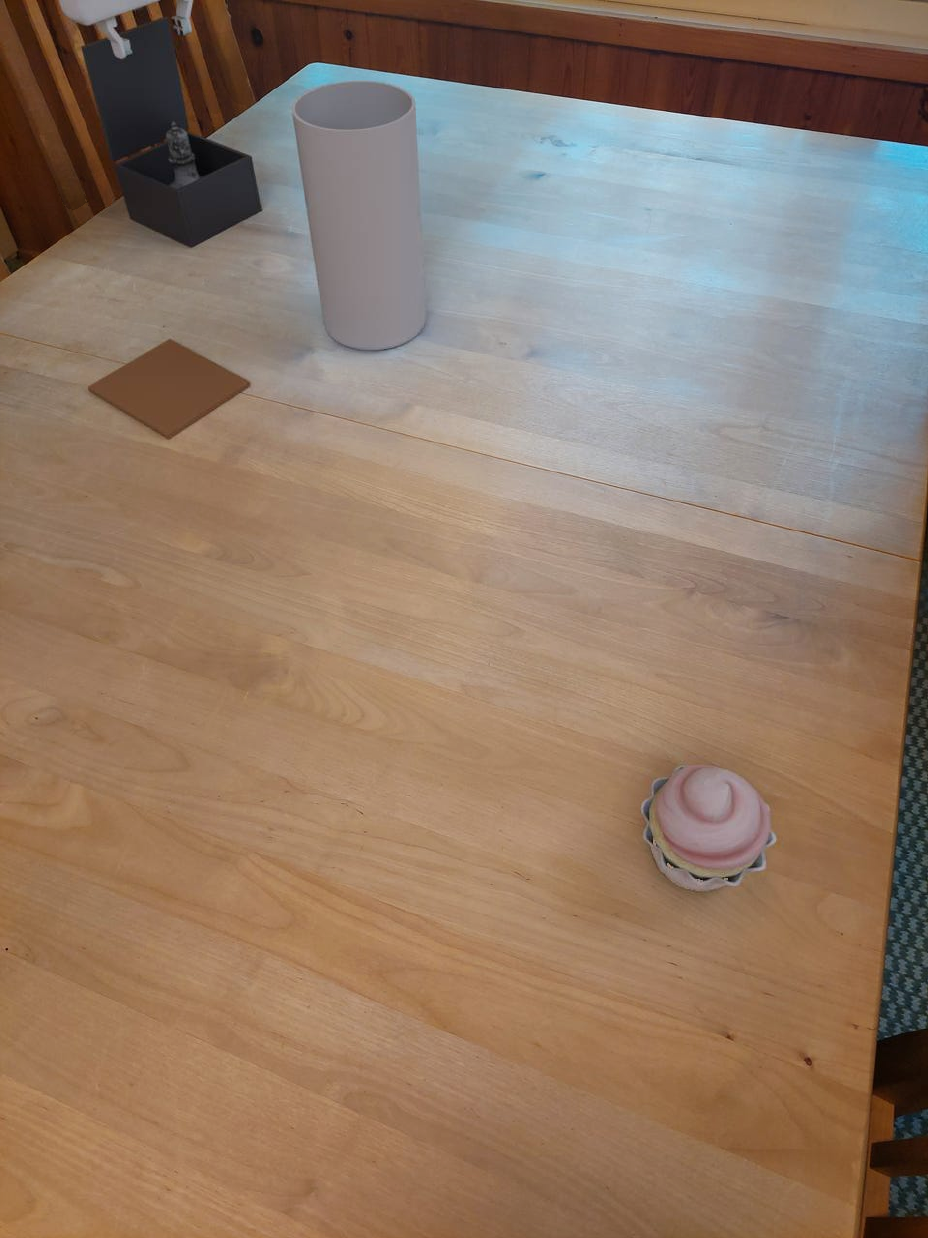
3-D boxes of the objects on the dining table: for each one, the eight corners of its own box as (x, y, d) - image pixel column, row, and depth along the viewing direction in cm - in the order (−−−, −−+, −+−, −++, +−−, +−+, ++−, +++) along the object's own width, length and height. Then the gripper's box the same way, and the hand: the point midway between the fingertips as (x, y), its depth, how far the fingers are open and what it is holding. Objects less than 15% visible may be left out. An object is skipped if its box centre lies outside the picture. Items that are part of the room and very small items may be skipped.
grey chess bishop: (167, 218, 127) (142, 128, 117) (185, 198, 130) (162, 110, 121) (205, 222, 126) (184, 132, 116) (222, 202, 129) (202, 113, 120)
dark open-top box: (262, 210, 129) (251, 155, 123) (191, 247, 123) (176, 192, 117) (201, 184, 134) (188, 130, 129) (130, 219, 128) (113, 164, 122)
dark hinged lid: (168, 17, 117) (164, 15, 117) (84, 48, 110) (80, 46, 111) (189, 128, 128) (185, 126, 128) (114, 162, 122) (110, 160, 122)
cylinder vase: (438, 342, 108) (428, 121, 88) (335, 361, 106) (303, 138, 86) (412, 289, 115) (398, 74, 96) (316, 305, 113) (282, 89, 94)
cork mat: (88, 391, 103) (87, 386, 102) (170, 342, 108) (169, 338, 108) (168, 439, 97) (167, 435, 96) (250, 385, 103) (249, 381, 102)
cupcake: (755, 930, 62) (794, 869, 55) (621, 895, 64) (641, 832, 56) (764, 812, 68) (801, 742, 60) (641, 783, 70) (661, 711, 62)
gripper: (173, -118, 107) (201, 15, 118) (26, -78, 97) (71, 64, 108) (208, -111, 105) (234, 25, 116) (61, -68, 95) (104, 76, 106)
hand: (154, 44), depth 112 cm, fingers open, 8 cm apart
